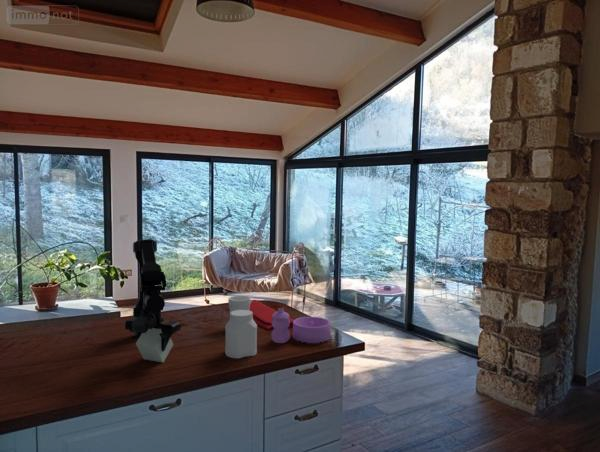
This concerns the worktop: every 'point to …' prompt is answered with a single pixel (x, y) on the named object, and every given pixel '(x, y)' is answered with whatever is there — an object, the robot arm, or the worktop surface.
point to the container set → (300, 328)
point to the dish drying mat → (264, 315)
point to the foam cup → (239, 303)
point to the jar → (241, 334)
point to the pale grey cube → (153, 345)
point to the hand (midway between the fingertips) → (153, 349)
